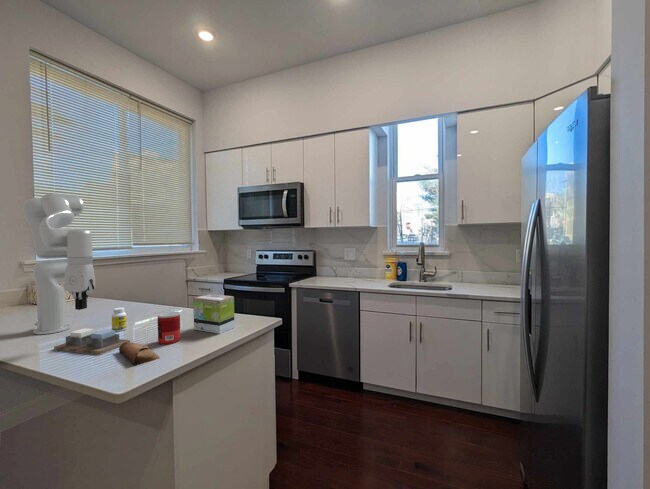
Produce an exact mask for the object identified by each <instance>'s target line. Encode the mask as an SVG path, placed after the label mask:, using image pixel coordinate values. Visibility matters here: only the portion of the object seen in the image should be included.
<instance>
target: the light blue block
mask: <svg viewBox="0 0 650 489" xmlns="http://www.w3.org/2000/svg"><path fill="white" fill-rule="evenodd" d="M115 334H116V332H115V330H112V329H102V330H98V331H95V332H94V333H91V339H101V340H102V339H105V338H108V337H110V336H113V335H115Z"/></svg>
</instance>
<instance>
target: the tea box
mask: <svg viewBox="0 0 650 489" xmlns="http://www.w3.org/2000/svg"><path fill="white" fill-rule="evenodd" d="M192 299H193V300H192V302H193V329H194V331H201V332H207V333H213V334H217V335H221V334H223V333H226V332H228V331H229V330H232V329H235V296H232V295H224V294H223V295H221V294H212V293H208V294H205V295H201V296H196V297H193V298H192ZM225 331H226V332H225Z"/></svg>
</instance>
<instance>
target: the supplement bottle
mask: <svg viewBox="0 0 650 489" xmlns="http://www.w3.org/2000/svg"><path fill="white" fill-rule="evenodd" d="M111 330H115V333H117V332H122V331H125V330H127V313H126V312H125V307H116V308H113V313H112V315H111Z"/></svg>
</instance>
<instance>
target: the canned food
mask: <svg viewBox="0 0 650 489" xmlns="http://www.w3.org/2000/svg"><path fill="white" fill-rule="evenodd" d="M180 340H181V313H180V312H179V311H167V312H163V313H159V314H157V342H158V344H160V345H161V346H162V345H164V346H165V345H167V346H168V345H171V344H172V345H173V344H176V343H178V342H179V341H180Z"/></svg>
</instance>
